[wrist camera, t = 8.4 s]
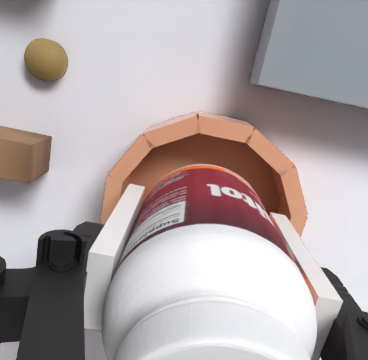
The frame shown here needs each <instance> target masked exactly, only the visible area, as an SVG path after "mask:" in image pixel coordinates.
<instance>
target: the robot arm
mask: <svg viewBox="0 0 368 360" xmlns="http://www.w3.org/2000/svg"><path fill="white" fill-rule="evenodd" d="M144 190H145V187H144V186H139V185H134V184H129V185H128V187H127V189H126V190H125V192H124V194H123V195H122V197H121V199H120V200H119V202H118V204H117V205H116V207H115V209H114V210H113V212H112V214H111V215H110V217H109V219H108V220H107V222H106V224H105V225H101V224H96V223H91V222H84V223H82V224H80V225H78V226H76V227H75V229H74V230H73V231H70V230H53V231H49V232H46V233H44V234H42V235H41V236H40V238H39V239H38V248H37V260H36V267H33V268H26V269H6V262H5V259H3V258H2V257H1V256H0V343H3V342H16V341H20V344H19V349H18V353H17V358H16V360H85V350H84V328H85V329H90V330H95V331H101V332H102V330H101V318H102V310H103V305H104V301H105V297H106V294H107V291H108V289H109V287H110V284H111V281H112V278H113V276H114V273H115V271H116V269H117V266H118V264H119V262H120V259H121V257H122V254H123V252H124V249H125V247H126V245H127V242H128V239H129V237H130V235H131V232H132V230H133V227H134V225H135V222H136V220H137V217H138V215H139V213H140V210H141V207H142V201H143V196H144ZM269 217H270V219H271V221H272V223H273V225H274V226H275V228H276V230H277V231H278V233H279V234H280V236H281V238H282V240H283V242H284V244H285V245H286V247H287V249H288V251H289V253H290V255H291V256H292V258H293V260H294V262H295V264H296V265H297V267H298V268H299V270H300V272H301V274H302V276H303V278H304V280H305V282H306V284H307V286H308V288H309V290H310V292H311V295H312V298H313V302H314V306H315V310H316V318H317V338H316V344H315V348H314V352H313V356H312V359H311V360H319V358H320V357H321V359H322V360H368V313H367V312H363V311H362V310H361V309H360V307H359V306H358V305H357V303H356V302H355V301H354V299H353V298H352V296H351V295H350V294H349V293H348V291H347V289H346V288H345V287H343V284H342V283H341V281H340V280H339V278H338V277H337V276H336V275H335V274H333V273H332V272H331V271H330V270H328V269H327V268H322V267H320V266H319V265H318V263H317V262H316V260H315V259H314V257H313V256H312V254H311V253H310V251H309V250H308V248H307V247H306V245H305V244H304V242H303V241H302V239H301V238H300V236H299V235H298V233H297V232H296V230H295V229H294V227H293V226H292V224H291V223H290V221H289V220H288V218H287V217H286V215H281V214H277V213H272V212H270V215H269Z"/></svg>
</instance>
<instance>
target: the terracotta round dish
mask: <svg viewBox="0 0 368 360" xmlns="http://www.w3.org/2000/svg"><path fill="white" fill-rule="evenodd" d="M195 164H209V165H216V166H220V167H223V168H226V169H228V170H230V171H232V172H234V173H236V174H238V175H239V176H241V177H242V178H243V179H244V180H246V181H247V182H248V183H249V184H250V186H251V187H252V188H253V189H254V191H255V192H256V194H257V195H258V197H259V198H260V200H261V202H262V204H263V206H264V208H265V210H266V212H267V213H268V215H270V212H272V213H277V214H281V215H286V217H287V218H288V220H289V221H290V223H291V224H292V226H293V227H294V229H295V230H296V232H297V233H298V235H299V236H300V238H301V235H302V232H303V229H304V226H305V223H306V220H307V216H306V215H308V214H307V210H306V206H305V202H304V198H303V194H302V189H301V185H300V181H299V177H298V173H297V169H296V166H294V165H295V164H293V163H292V162H291V161H290V160H289V159H288V158H287V157H286V156H285V155H284V154H283V153H282V152H281V151H280V150H279V149H278V148H276V147H275V146H274V145H273V144H272V143H271V142H270V141H269V140H268V139H267V138H266V137H265V136H264V135H263V134H262V133H261V132H260V131H258V130H257V129H256V128H255V127H254V126H253V125H251V124H250V123H248V122H247V121H243V120H238V119H234V118H230V117H227V116H223V115H217V114H210V113H205V112H201V111H198V113H196V111H195V112H192V113H189V114H186V115H182V116H178V117H175V118H172V119H169V120H167V121H164V122H162V123H159V124H156V125H153V126H150V127H149V128H147V129H146V130H145V131H144V132H143V134H142V135H141V136H140V137H139V138H138V139H137V140H136V142H135V143H134V144H133V145H132V146H131V147H130V149H129V150H128V151H127V152H126V153H125V154H124V156H123V157H122V158H121V159H120V160H119V161H118V163H117V164H116V165H115V166H114V167H113V168H112V170H111V171H110V172H109V173H108V175H107V179H106V186H105V193H104V199H103V206H102V213H101V220H100V224H101V225H105V224H106V222H107V220H108V219H109V217H110V215H111V214H112V212H113V210H114V209H115V207H116V205H117V204H118V202H119V200H120V199H121V197H122V195H123V194H124V192H125V190H126V189H127V187H128V185H129V184H134V185H139V186H144V187H145V190H144V196H143V201H142V205H143V203H144V201H145V199H146V197H147V195H148V194H149V192H150V191H151V189H152V188H153V187H154V186H155V184H156V183H157V182H158V181H159V180H161V179H162V178H163V177H164V176H166V175H167V174H169V173H170V172H172V171H174V170H177V169H179V168H182V167H185V166H188V165H195ZM141 208H142V207H141Z"/></svg>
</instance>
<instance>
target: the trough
mask: <svg viewBox="0 0 368 360" xmlns="http://www.w3.org/2000/svg"><path fill="white" fill-rule="evenodd" d="M249 83H250V84H255V85H259V86H264V87H268V88H273V89H278V90H282V91H287V92H291V93H296V94H301V95H305V96H310V97H314V98H319V99H324V100H328V101H333V102H337V103H342V104H347V105H351V106H356V107H360V108H365V109H368V0H270V2H269V6H268V10H267V14H266V18H265V22H264V26H263V30H262V34H261V38H260V42H259V46H258V50H257V54H256V58H255V61H254V65H253V69H252V73H251V77H250V81H249Z"/></svg>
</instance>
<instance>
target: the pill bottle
mask: <svg viewBox="0 0 368 360" xmlns="http://www.w3.org/2000/svg"><path fill="white" fill-rule="evenodd" d="M101 330H102V339H103V345H104V348H105V352H106V355H107V357H108V360H311V359H312V356H313V352H314V348H315V344H316V338H317V318H316V310H315V306H314V302H313V298H312V295H311V292H310V290H309V288H308V286H307V284H306V282H305V280H304V278H303V276H302V274H301V272H300V270H299V268H298V267H297V265H296V264H295V262H294V260H293V258H292V256H291V255H290V253H289V251H288V249H287V247H286V245H285V244H284V242H283V240H282V238H281V236H280V234H279V233H278V231H277V230H276V228H275V226H274V225H273V223H272V221H271V219H270V217H269V215H268V213H267V212H266V210H265V208H264V206H263V204H262V202H261V200H260V198H259V197H258V195H257V194H256V192H255V191H254V189H253V188H252V187H251V186H250V184H249V183H248V182H247V181H246V180H244V179H243V178H242V177H241V176H239V175H238V174H236V173H234V172H232V171H230V170H228V169H226V168H223V167H220V166H216V165H209V164H195V165H188V166H185V167H182V168H179V169H177V170H174V171H172V172H170V173H169V174H167V175H166V176H164V177H163V178H162V179H161V180H159V181H158V182H157V183H156V184H155V186H154V187H153V188H152V189H151V191H150V192H149V194H148V195H147V197H146V199H145V201H144V203H143V205H142V208H141V210H140V213H139V215H138V217H137V220H136V222H135V225H134V227H133V230H132V232H131V235H130V237H129V239H128V242H127V245H126V247H125V249H124V252H123V254H122V257H121V259H120V262H119V264H118V266H117V269H116V271H115V273H114V276H113V278H112V281H111V284H110V287H109V289H108V291H107V294H106V297H105V301H104V305H103V310H102V318H101Z"/></svg>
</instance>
